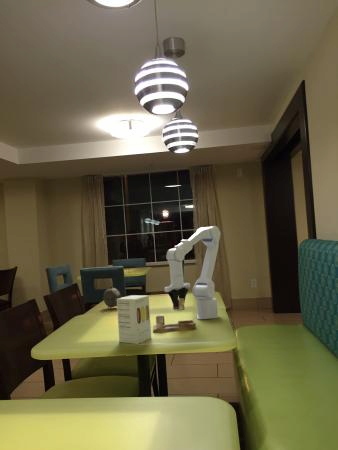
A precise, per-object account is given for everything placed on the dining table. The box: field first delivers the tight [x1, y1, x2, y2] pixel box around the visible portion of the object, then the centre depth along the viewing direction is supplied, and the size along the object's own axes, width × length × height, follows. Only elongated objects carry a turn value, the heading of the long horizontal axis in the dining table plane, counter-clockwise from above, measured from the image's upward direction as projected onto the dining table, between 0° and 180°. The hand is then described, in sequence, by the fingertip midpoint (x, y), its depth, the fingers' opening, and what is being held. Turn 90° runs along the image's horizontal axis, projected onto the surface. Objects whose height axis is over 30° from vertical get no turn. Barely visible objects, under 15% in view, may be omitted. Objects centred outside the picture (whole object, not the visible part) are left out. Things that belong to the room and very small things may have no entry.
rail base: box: [152, 313, 197, 334], centre depth 155 cm, size 18×8×6 cm, turn 93°
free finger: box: [172, 297, 186, 312], centre depth 162 cm, size 4×4×5 cm
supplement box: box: [116, 294, 152, 345], centre depth 142 cm, size 10×9×17 cm
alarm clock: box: [102, 281, 122, 310], centre depth 215 cm, size 11×5×16 cm, turn 58°
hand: (178, 305), depth 161 cm, fingers closed on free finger, 3 cm apart
